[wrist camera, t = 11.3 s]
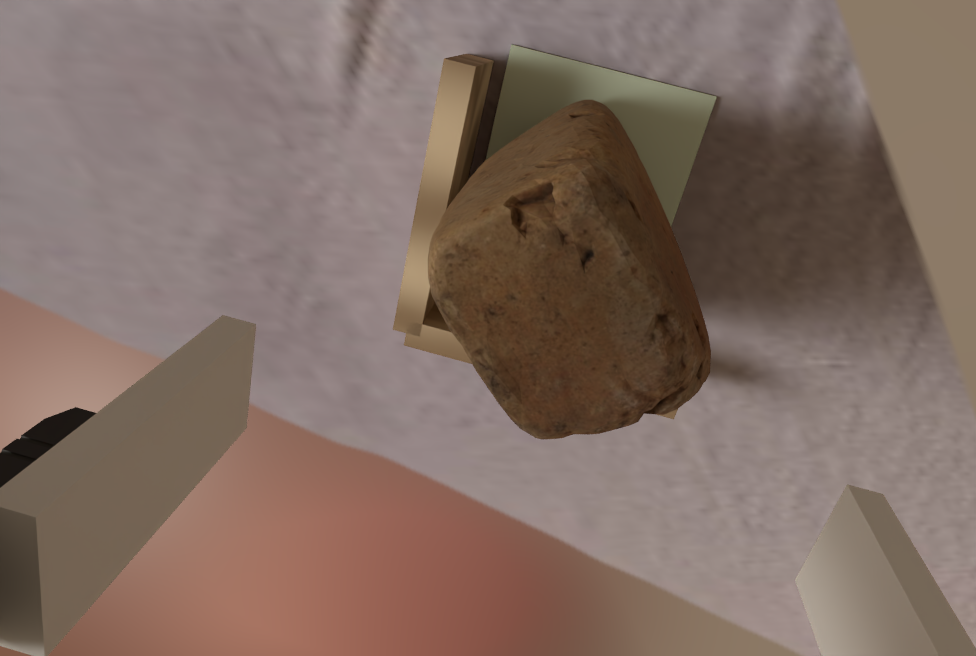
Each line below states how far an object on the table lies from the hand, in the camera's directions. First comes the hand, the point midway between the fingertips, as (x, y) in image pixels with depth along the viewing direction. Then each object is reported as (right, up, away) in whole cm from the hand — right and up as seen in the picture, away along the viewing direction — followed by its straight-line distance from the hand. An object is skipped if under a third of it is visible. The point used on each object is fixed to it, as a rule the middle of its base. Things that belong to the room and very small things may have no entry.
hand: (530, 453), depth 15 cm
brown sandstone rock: (+5, +10, +24) cm, 27 cm away
